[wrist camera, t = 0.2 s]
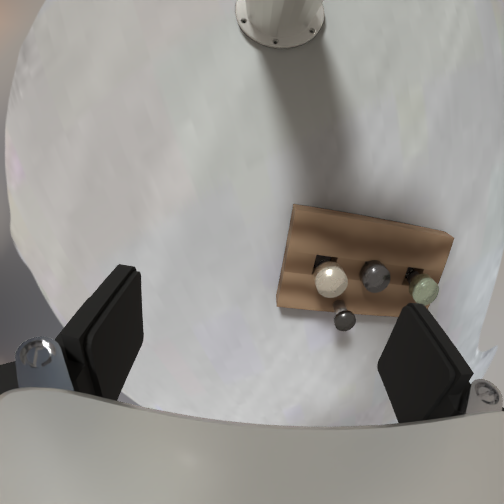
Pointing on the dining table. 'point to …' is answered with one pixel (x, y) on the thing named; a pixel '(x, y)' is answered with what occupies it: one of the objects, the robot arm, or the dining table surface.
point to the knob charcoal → (374, 276)
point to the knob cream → (330, 279)
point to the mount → (357, 259)
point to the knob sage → (422, 288)
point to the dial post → (343, 316)
